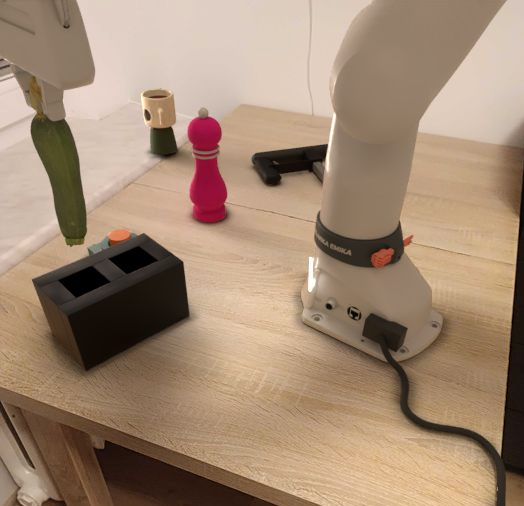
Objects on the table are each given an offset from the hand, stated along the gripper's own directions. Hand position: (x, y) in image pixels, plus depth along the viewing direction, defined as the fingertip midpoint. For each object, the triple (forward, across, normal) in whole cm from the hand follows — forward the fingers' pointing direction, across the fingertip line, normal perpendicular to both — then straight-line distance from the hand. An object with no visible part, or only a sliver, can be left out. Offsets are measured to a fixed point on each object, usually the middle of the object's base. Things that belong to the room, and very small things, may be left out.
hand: (46, 113), depth 53 cm
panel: (+30, +13, -11) cm, 35 cm away
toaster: (+30, -1, -2) cm, 31 cm away
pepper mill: (+31, +16, -32) cm, 47 cm away
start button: (+27, +13, -11) cm, 32 cm away
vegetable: (+16, 0, 0) cm, 16 cm away
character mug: (+31, +46, -42) cm, 69 cm away
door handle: (+31, +17, -59) cm, 69 cm away
